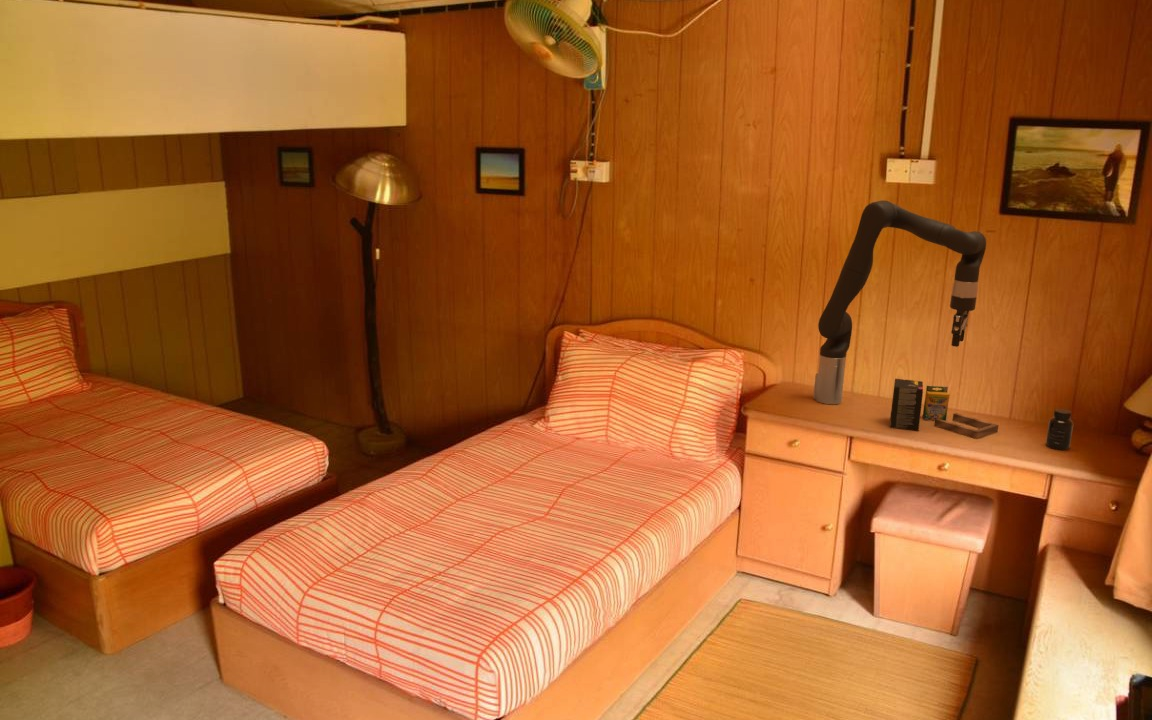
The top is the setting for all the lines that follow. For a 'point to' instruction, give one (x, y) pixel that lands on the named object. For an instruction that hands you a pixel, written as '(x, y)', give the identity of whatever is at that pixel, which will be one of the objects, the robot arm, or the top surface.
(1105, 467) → the top surface
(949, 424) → the bay
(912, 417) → the tampon box
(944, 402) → the crayon box
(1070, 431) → the supplement bottle
